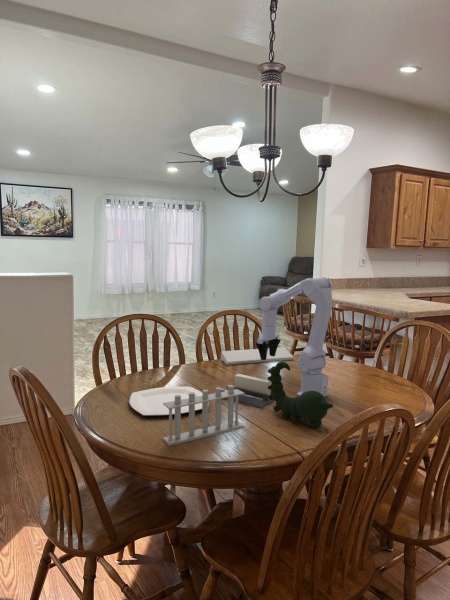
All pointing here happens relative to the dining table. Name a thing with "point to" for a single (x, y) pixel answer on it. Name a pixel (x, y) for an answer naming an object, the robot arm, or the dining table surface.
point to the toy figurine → (297, 400)
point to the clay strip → (252, 383)
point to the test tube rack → (203, 415)
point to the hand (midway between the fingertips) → (267, 357)
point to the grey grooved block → (252, 397)
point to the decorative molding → (253, 356)
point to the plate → (161, 400)
